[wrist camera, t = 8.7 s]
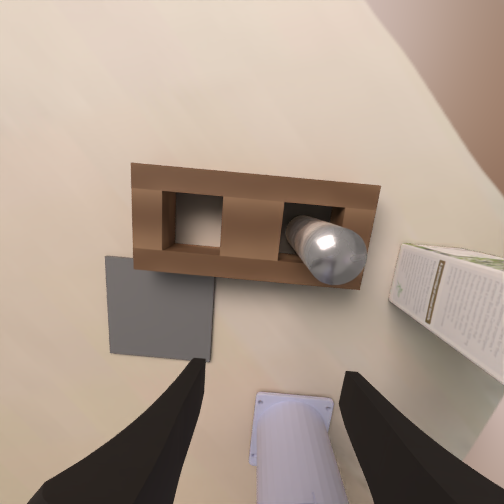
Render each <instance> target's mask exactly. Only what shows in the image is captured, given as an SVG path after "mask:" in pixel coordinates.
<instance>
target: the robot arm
mask: <svg viewBox="0 0 504 504" xmlns="http://www.w3.org/2000/svg"><path fill="white" fill-rule="evenodd" d="M205 364H206V359H203V358H193V359H192V360H191V361H190V362H189V364H188V365H187V366H186V368H185V369H184V370H183V371H182V373H181V374H180V375H179V376H178V377H177V379H176V380H175V381H174V382H173V383H172V384H171V385H170V386H169V388H168V389H167V390H166V391H165V392H164V393H163V394H162V395H161V396H160V397H159V398H158V399H157V400H156V401H155V402H154V403H153V404H152V405H151V406H150V407H149V408H148V409H147V410H146V411H145V412H144V413H143V414H141V415H140V416H139V417H138V418H137V419H136V420H135V421H133V422H132V423H131V424H130V425H129V426H127V427H126V428H125V429H124V430H122V431H121V432H120V433H119V434H117V435H116V436H115V437H114V438H112V439H111V440H110V441H108V442H107V443H105V444H104V445H103V446H101V447H100V448H98V449H97V450H95V451H94V452H93V453H91V454H90V455H88V456H87V457H85V458H84V459H82V460H81V461H79V462H78V463H76V464H74V465H73V466H71V467H70V468H68V469H66V470H65V471H63V472H61V473H60V474H58V475H56V476H55V477H53V478H51V479H50V480H48V481H46V482H45V483H44V484H43V485H42V486H41V488H40V489H39V490H38V491H37V492H36V493H35V494H34V496H33V497H32V498H31V499H30V500H29V502H28V503H27V504H173V502H174V497H175V493H176V489H177V485H178V481H179V477H180V474H181V470H182V467H183V463H184V460H185V457H186V454H187V451H188V448H189V445H190V442H191V439H192V436H193V432H194V429H195V426H196V423H197V420H198V417H199V413H200V409H201V404H202V400H203V395H204V384H205ZM260 400H261V401H260ZM333 406H334V403H333V400H332V399H331V398H325V397H314V396H303V395H292V394H281V393H270V392H258V393H257V394H256V400H255V409H254V418H253V427H252V436H251V445H250V454H249V463H250V465H253V466H257V504H349V502H348V499H347V495H346V492H345V489H344V485H343V482H342V479H341V476H340V472H339V469H338V466H337V462H336V459H335V456H334V452H333V449H332V446H331V443H330V439H329V436H328V430H329V425H330V421H331V416H332V411H333ZM339 407H340V410H341V414H342V418H343V421H344V425H345V428H346V430H347V433H348V436H349V438H350V441H351V443H352V446H353V448H354V451H355V453H356V456H357V458H358V461H359V463H360V466H361V468H362V471H363V473H364V476H365V478H366V481H367V483H368V486H369V489H370V492H371V495H372V497H373V501H374V504H504V489H503V488H501V487H499V486H498V485H496V484H495V483H493V482H492V481H490V480H489V479H487V478H486V477H484V476H483V475H481V474H480V473H478V472H477V471H475V470H474V469H472V468H471V467H469V466H468V465H467V464H465V463H464V462H462V461H461V460H459V459H458V458H457V457H455V456H454V455H453V454H451V453H450V452H448V451H447V450H446V449H444V448H443V447H442V446H441V445H439V444H438V443H437V442H435V441H434V440H433V439H432V438H430V437H429V436H428V435H426V434H425V433H424V432H423V431H422V430H420V429H419V428H418V427H417V426H416V425H414V424H413V423H412V422H411V421H410V420H409V419H408V418H406V417H405V416H404V415H403V414H402V413H401V412H400V411H399V410H397V409H396V408H395V407H394V406H393V405H392V404H391V403H390V402H389V401H388V400H387V399H386V398H385V397H384V396H382V395H381V394H380V393H379V392H378V391H377V390H376V389H375V388H374V387H373V386H372V385H371V384H370V383H369V382H368V381H367V380H366V379H365V378H364V377H363V376H362V375H361V374H359V373H358V372H352V371H346V373H345V377H344V382H343V386H342V391H341V396H340V400H339Z"/></svg>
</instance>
